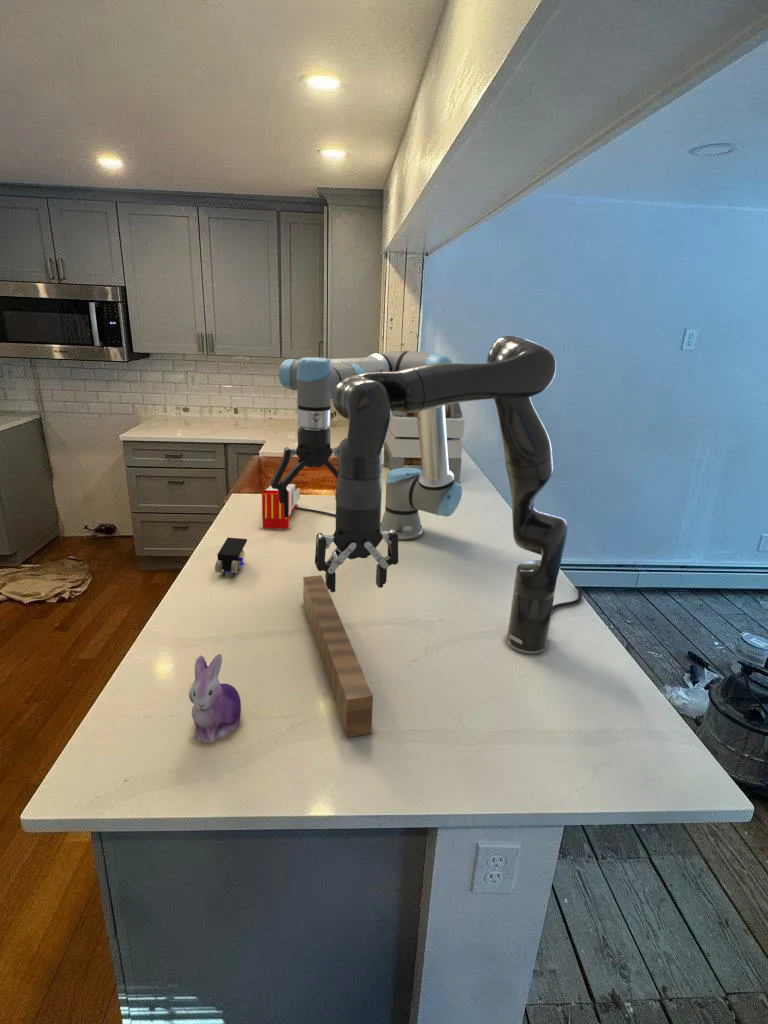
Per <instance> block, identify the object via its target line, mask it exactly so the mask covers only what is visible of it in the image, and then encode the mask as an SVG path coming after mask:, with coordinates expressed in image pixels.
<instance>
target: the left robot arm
mask: <svg viewBox="0 0 768 1024" xmlns="http://www.w3.org/2000/svg"><path fill="white" fill-rule="evenodd" d="M438 363H454V362H453V360H452V359H451V358H450V357H449V356H447V355H446V354H440V353H437V352H422V351H421V352H420V351H409V350H396V351H388V352H387V351H385V352H379V353H372V354H369V355H368V356H367V357H348V358H347V357H346V358H326V357H318V356H315V357H314V356H310V357H309V356H306V357H301V358H300V359H298V358H287V359H285V360H284V361H283V362H281V364H280V366H279V368H278V380H279V383H280V384H281V385H282V387H284V388H285V389H288V390H292V391H297V396H296V397H297V398H296V399H297V426H298V428H297V446H296V448H289V447H287V446H286V447H284V448H283V456H282V458H281V461H280V462H279V464H278V466H277V468H276V470H275V473H274V474H273V476H272V478H271V480H270V486H271V487H272V488H273V489H278V491H279V502H280V503H283V513H284V516H285V517H288V491H287V488H286V487H287V486H288V485H289V484H291V482H292V481H293V480H294V479H295V478H296V476H298V474H299V473H300V472H301V471H302V470H303V469H304V468H305V467H306V468H310V469H311V468H322V467H323V466H325V467H326V468H327V469H328V470H329V471H330V473H332V475H333V476H334V477H335V478H336V479H338V469H337V468H335V466H334V465H333V464H332V463H331V462H330V461H329V459H330V458H331V456H332V455H334V456H335V457H336V458H338V452H339V446H340V445H337V446H336V447H331V428H329V427H331V406H332V405H331V403H332V400H333V392H334V390H335V388H336V386H337V385H338V384H339V383H340V382H341V381H342V380H343V379H345V378H347V377H350V376H353V375H358V374H366V373H380V372H395V371H400V370H404V369H408V368H413V367H418V366H424V365H429V364H438ZM417 420H418V431H419V441H420V452H421V462H422V466H421V469H420V468H418V467H404V468H398V469H394V470H391V471H390V470H388V472H387V475H386V480H385V504H384V505H385V507H384V508H385V509H384V513H383V515H382V519H381V521H380V531H381V532H383V531H388V529H390V528H392V529H394V531H395V532H396V533H397V534H398V541H410V540H415V539H418V538H420V537H421V536H422V535H423V525H422V524H421V518H420V515H419V511H421V512H425V513H429V514H433V515H435V516H440V517H450V516H452V515H453V514H454V513H455V512H456V510H457V509H458V507H459V504H460V503H461V500H462V495H463V487H462V485H461V484H460V483H455V482H454V474H453V473H452V472H451V471H450V470H449V464H448V449H447V433H446V418H445V405H444V406H439V407H435V408H431V409H426V410H422V411H417ZM295 455H296V456H297V458H298V460H296V462H295V464H294V465H293V466H292V467H291V468H290V470H289V471H288V472H287V473H286V475H285V476H284V477H283V475H284V473H285V471H286V469H287V467H288V465H289V463H290V460H291V459H292V458H293V457H294V456H295ZM282 477H283V478H282ZM295 510H300V511H307V512H312V513H316V514H317V513H318V514H321V515H328V516H332V517H335V518H336V513H331V512H328V511H323V510H317V509H312V508H305V507H304V508H303V507H298V506H297V507H296V509H295Z"/></svg>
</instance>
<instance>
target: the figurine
mask: <svg viewBox="0 0 768 1024" xmlns="http://www.w3.org/2000/svg"><path fill="white" fill-rule="evenodd" d="M222 663H223V655H222V653H218V654H217V655H215V656H214V657H213V659H212V660H211V662H210V663H209V665H208V664H207V661H206V659H205V657H204V656H203V655H201V654H200V655H199V656H197V658H196V659H195V663H194V680H193V682H192V684H191V686H190V688H189V691H188V692H189V693H188V699H189V700H190V702H191V703H192V704H193V706H192V708H191V717H192V720H193V723H194V727H195V730H194V736H193V737H194V740H196V741H197V742H201V743H204V744H211V743H214V742H216V741H218V740H222V739H225V738H227V737H228V736H230V735H231V734H232V733H233V732H235V730H237V729H238V728H239V726H240V723H241V714H242V701H241V697H240V694H239V692H238V690H237V689H236V688H235V687H234V686H233V685H232V684H230V683H220V680H219V674H220V670H221V667H222Z"/></svg>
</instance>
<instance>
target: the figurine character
mask: <svg viewBox="0 0 768 1024" xmlns="http://www.w3.org/2000/svg"><path fill="white" fill-rule="evenodd" d="M247 542H248V538H240V537H226V539H225V541H224V543H223V544H222V546H221V547H220V549H219V551H218V552H217V560H216V562H215V564H214V572H215V573H221V577H222V578H224V577H225V576H226V574H227V573H230V574H231V573H232V574H231V578H234V577H235V575H236V573H237V572H239V571H240V567H242V566H243V565H244V564H245V562H244V558H245V551H244V547H245V546H246V544H247Z"/></svg>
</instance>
